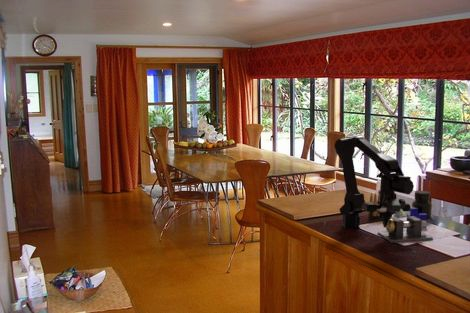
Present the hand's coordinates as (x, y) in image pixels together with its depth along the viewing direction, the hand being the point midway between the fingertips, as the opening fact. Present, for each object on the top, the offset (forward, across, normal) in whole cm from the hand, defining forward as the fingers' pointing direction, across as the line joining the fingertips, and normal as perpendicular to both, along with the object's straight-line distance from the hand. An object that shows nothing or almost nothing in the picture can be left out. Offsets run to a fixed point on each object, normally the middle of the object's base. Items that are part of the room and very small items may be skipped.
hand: (384, 227), depth 207 cm
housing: (+4, +9, 0) cm, 10 cm away
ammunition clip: (+4, +13, +30) cm, 33 cm away
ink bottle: (+3, +33, +28) cm, 44 cm away
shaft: (+2, +10, 0) cm, 10 cm away
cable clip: (+4, +24, +18) cm, 31 cm away
